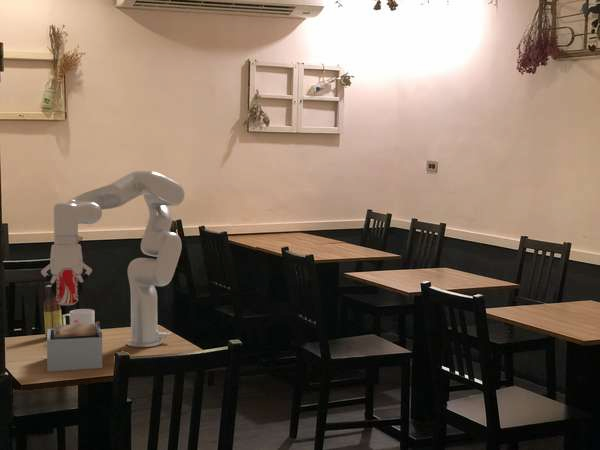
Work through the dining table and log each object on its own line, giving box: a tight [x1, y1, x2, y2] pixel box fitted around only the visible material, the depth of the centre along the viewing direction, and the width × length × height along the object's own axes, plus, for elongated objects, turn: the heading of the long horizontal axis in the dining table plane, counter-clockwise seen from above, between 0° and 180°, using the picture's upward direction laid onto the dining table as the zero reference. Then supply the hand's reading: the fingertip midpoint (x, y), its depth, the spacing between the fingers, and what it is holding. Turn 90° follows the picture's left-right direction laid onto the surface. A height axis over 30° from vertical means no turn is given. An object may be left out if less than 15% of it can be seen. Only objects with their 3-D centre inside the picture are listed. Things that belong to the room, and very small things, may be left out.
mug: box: [61, 308, 96, 325], centre depth 296 cm, size 12×9×11 cm
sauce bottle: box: [43, 284, 63, 338], centre depth 300 cm, size 6×6×20 cm
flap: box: [54, 323, 96, 337], centre depth 263 cm, size 13×15×1 cm
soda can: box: [55, 269, 79, 306], centre depth 261 cm, size 7×7×12 cm
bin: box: [46, 321, 104, 373], centre depth 263 cm, size 17×18×12 cm
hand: (67, 294), depth 261 cm, fingers closed on soda can, 7 cm apart
